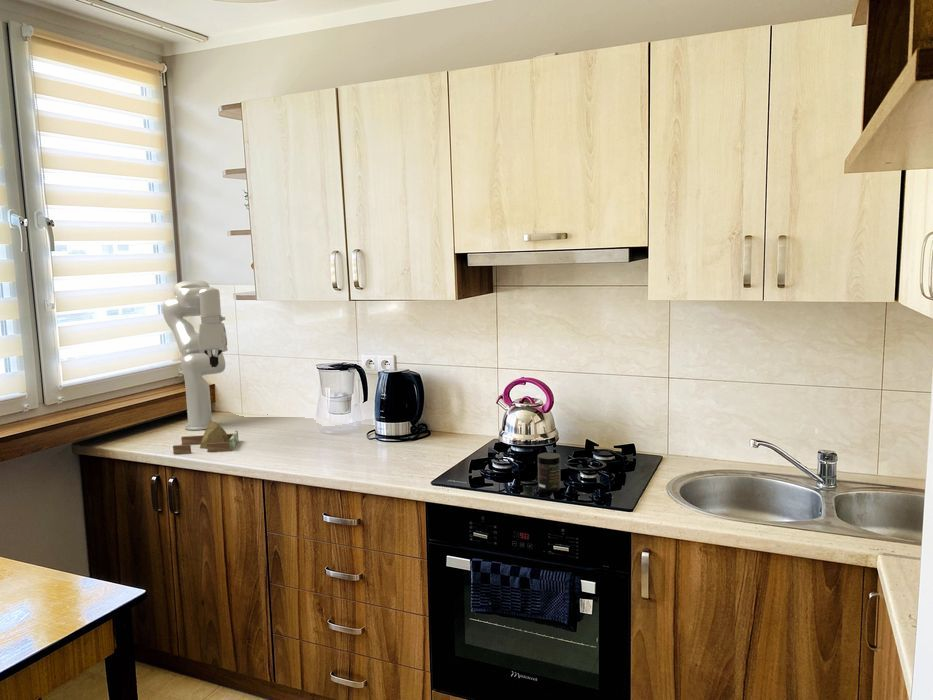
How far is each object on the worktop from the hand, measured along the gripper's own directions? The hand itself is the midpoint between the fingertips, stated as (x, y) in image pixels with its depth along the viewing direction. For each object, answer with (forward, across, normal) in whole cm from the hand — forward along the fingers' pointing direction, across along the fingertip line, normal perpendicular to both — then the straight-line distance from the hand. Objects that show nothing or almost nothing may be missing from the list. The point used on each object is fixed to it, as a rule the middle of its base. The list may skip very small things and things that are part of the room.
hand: (214, 366), depth 279 cm
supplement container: (+28, -112, +87) cm, 145 cm away
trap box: (+29, +2, +10) cm, 31 cm away
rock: (+29, -1, +14) cm, 32 cm away
